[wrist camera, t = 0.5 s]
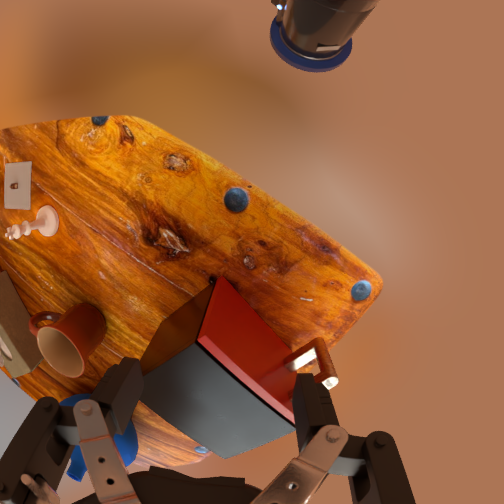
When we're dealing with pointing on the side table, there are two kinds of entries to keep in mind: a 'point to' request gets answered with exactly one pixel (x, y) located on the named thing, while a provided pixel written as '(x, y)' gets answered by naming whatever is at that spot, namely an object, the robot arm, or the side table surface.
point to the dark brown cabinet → (204, 388)
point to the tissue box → (16, 332)
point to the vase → (124, 442)
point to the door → (258, 349)
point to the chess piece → (37, 224)
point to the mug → (69, 337)
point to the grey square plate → (17, 185)
